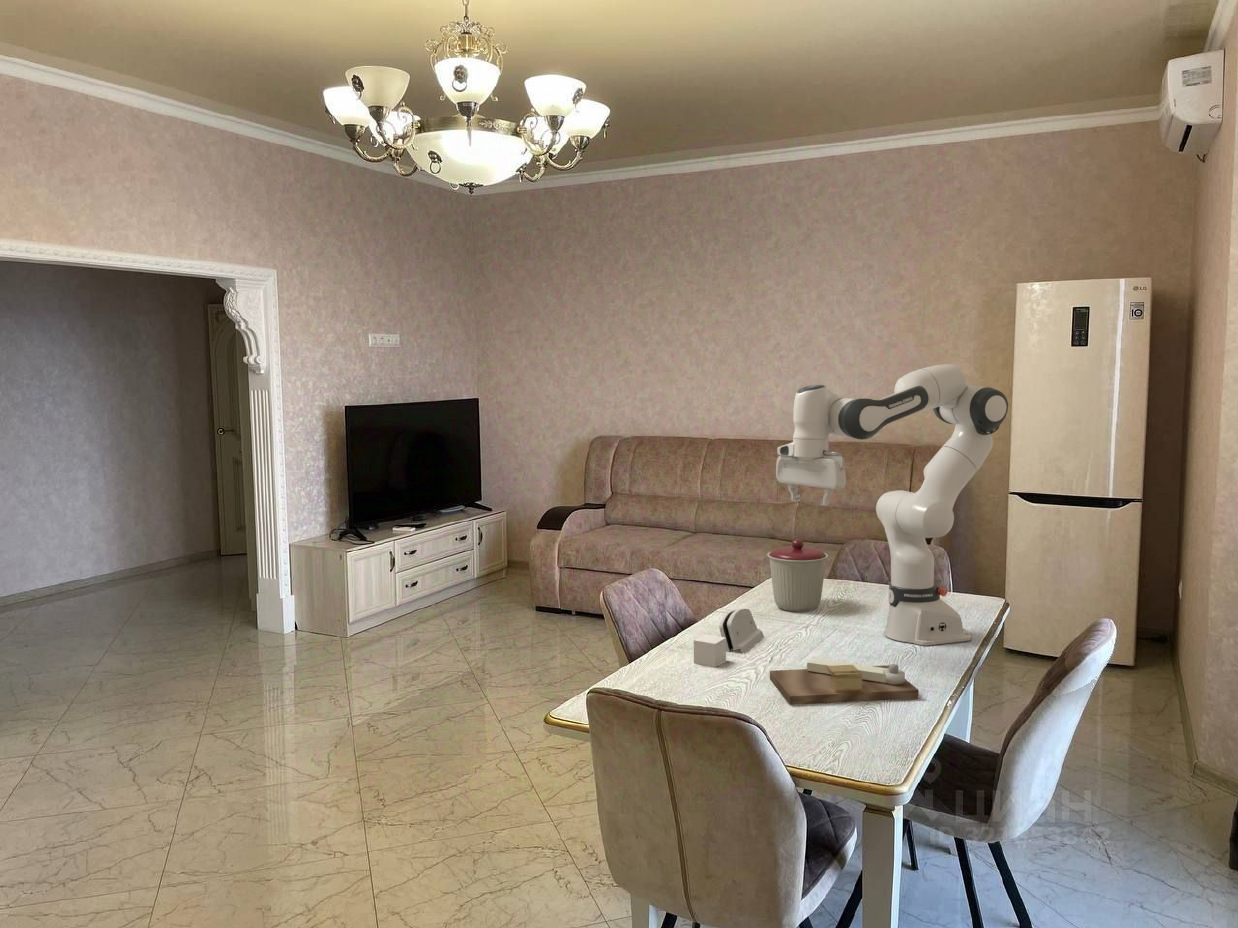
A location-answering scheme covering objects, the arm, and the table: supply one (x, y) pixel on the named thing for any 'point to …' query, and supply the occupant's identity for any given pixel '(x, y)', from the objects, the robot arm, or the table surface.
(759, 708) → the table surface
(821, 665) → the link
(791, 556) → the canister
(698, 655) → the light grey cube
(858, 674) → the block
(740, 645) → the hinge
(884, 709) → the table surface
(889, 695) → the board
